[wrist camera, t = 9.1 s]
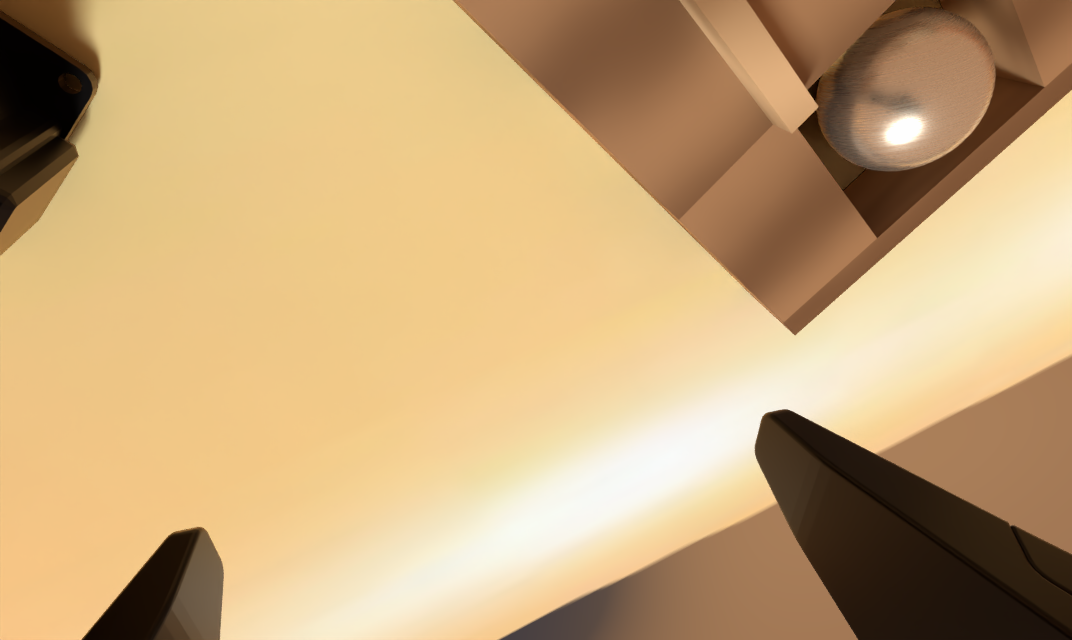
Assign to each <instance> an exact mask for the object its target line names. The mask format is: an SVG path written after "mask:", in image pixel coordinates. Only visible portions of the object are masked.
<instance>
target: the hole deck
mask: <svg viewBox="0 0 1072 640" xmlns="http://www.w3.org/2000/svg"><path fill="white" fill-rule="evenodd" d="M453 1H454V2H455V3H456V4H457V5H458V6H459V7H460V8H461V9H462V10H463V11H464V12H465V13H466V14H467V15H468V16H469V17H470V18H471V19H472V20H473V21H474V22H475V23H476V24H477V25H478V26H479V27H480V28H482V29H483V30H484V31H485V32H486V33H487V34H488V35H489V36H490V37H491V38H492V39H493V40H494V41H495V42H496V43H497V44H498V45H499V46H500V47H501V48H502V49H503V50H504V51H505V52H506V53H507V54H508V55H509V56H510V57H511V58H512V59H513V60H514V61H515V62H516V63H517V64H518V65H519V66H520V67H521V68H522V69H523V70H524V71H525V72H526V73H527V74H528V75H529V76H530V77H531V78H532V79H533V80H534V81H535V82H536V83H537V84H538V85H539V86H540V87H541V88H542V89H543V90H544V91H545V92H546V93H547V94H548V95H549V96H550V97H551V98H552V99H553V100H554V101H555V102H556V103H557V104H558V105H560V106H561V107H562V108H563V109H564V110H565V111H566V112H567V113H568V114H569V115H570V116H571V117H572V118H573V119H574V120H575V121H576V122H577V123H578V124H579V125H580V126H581V127H582V128H583V129H584V130H585V131H586V132H587V133H588V134H589V135H590V136H591V137H592V138H593V139H594V140H595V141H596V142H597V143H598V144H599V145H600V146H601V147H602V148H603V149H604V150H605V151H606V152H607V153H608V154H609V155H610V156H611V157H612V158H613V159H614V160H615V161H616V162H617V163H618V164H619V165H620V166H621V167H622V168H623V169H624V170H625V171H626V172H627V173H628V174H629V175H630V176H631V177H632V178H633V179H634V180H635V181H636V182H637V183H639V184H640V185H641V186H642V187H643V188H644V189H645V190H646V191H647V192H648V193H649V194H650V195H651V196H652V197H653V198H654V199H655V200H656V201H657V202H658V203H659V204H660V205H661V206H662V207H663V208H664V209H665V210H666V211H667V212H668V213H669V214H670V215H671V216H672V217H673V218H674V219H675V220H676V221H677V222H678V223H679V224H680V225H681V226H682V227H683V228H684V229H685V230H686V231H687V232H688V233H689V234H690V235H691V236H692V237H693V238H694V239H695V240H696V241H697V242H698V243H699V244H700V245H701V246H702V247H703V248H704V249H705V250H706V251H707V252H708V253H709V254H710V255H711V256H712V257H713V258H714V259H715V260H717V261H718V262H719V263H720V264H721V265H722V266H723V267H724V268H725V269H726V270H727V271H728V272H729V273H730V274H731V275H732V276H733V277H734V278H735V279H736V280H737V281H738V282H739V283H740V284H741V285H742V286H743V287H744V288H745V289H746V290H747V291H748V292H749V293H750V294H751V295H752V296H753V297H754V298H755V299H756V300H757V301H758V302H759V303H760V304H762V305H763V306H764V307H765V308H766V309H767V310H768V311H769V312H770V313H771V314H772V315H773V316H775V317H776V318H777V319H778V320H779V321H780V322H781V323H782V324H783V325H784V326H785V327H786V328H788V329H789V330H790V331H791V332H792V333H793V334H794V335H796V334H797V333H798V332H799V331H801V330H802V329H803V328H804V327H805V326H806V325H807V324H808V323H810V322H811V321H812V320H813V319H814V318H815V317H816V316H817V315H819V314H820V313H821V312H822V311H823V310H824V309H825V308H826V307H828V306H829V305H830V304H831V303H832V302H833V301H834V300H835V299H837V298H838V297H839V296H840V295H841V294H842V293H843V292H844V291H846V290H847V289H848V288H849V287H850V286H851V285H852V284H853V283H855V282H856V281H857V280H858V279H859V278H860V277H861V276H862V275H864V274H865V273H866V272H867V271H868V270H869V269H870V268H871V267H873V266H874V265H875V264H876V263H877V262H878V261H879V260H880V259H882V258H883V257H884V256H885V255H886V254H887V253H888V252H889V251H891V250H892V249H893V248H894V247H895V246H896V245H897V244H898V243H900V242H901V241H902V240H903V239H904V238H905V237H906V236H908V235H909V234H910V233H911V232H912V231H913V230H914V229H915V228H917V227H918V226H919V225H920V224H921V223H922V222H923V221H924V220H926V219H927V218H928V217H929V216H930V215H931V214H932V213H933V212H935V211H936V210H937V209H938V208H939V207H940V206H941V205H942V204H944V203H945V202H946V201H947V200H948V199H949V198H950V197H951V196H953V195H954V194H955V193H956V192H957V191H958V190H959V189H960V188H962V187H963V186H964V185H965V184H966V183H967V182H968V181H969V180H971V179H972V178H973V177H974V176H975V175H976V174H977V173H978V172H980V171H981V170H982V169H983V168H984V167H985V166H986V165H987V164H989V163H990V162H991V161H992V160H993V159H994V158H995V157H996V156H998V155H999V154H1000V153H1001V152H1002V151H1003V150H1004V149H1005V148H1007V147H1008V146H1009V145H1010V144H1011V143H1012V142H1013V141H1015V140H1016V139H1017V138H1018V137H1019V136H1020V135H1021V134H1022V133H1024V132H1025V131H1026V130H1027V129H1028V128H1029V127H1030V126H1031V125H1033V124H1034V123H1035V122H1036V121H1037V120H1038V119H1039V118H1040V117H1042V116H1043V115H1044V114H1045V113H1046V112H1047V111H1048V110H1049V109H1051V108H1052V107H1053V106H1054V105H1055V104H1056V103H1057V102H1058V101H1060V100H1061V99H1062V98H1063V97H1064V96H1065V95H1066V94H1067V93H1069V92H1070V91H1071V90H1072V0H939V1H940V3H941V6H942V8H943V10H946V11H949V12H953V13H955V14H957V15H959V16H961V17H963V18H965V19H966V20H968V21H969V22H970V23H972V24H973V25H974V26H975V27H976V28H977V29H978V30H979V31H980V32H981V33H982V34H983V36H984V37H985V39H986V40H987V42H988V44H989V47H990V49H991V51H992V54H993V58H994V62H995V72H996V77H995V87H994V91H993V95H992V98H991V101H990V104H989V106H988V109H987V111H986V113H985V115H984V116H983V118H982V120H981V121H980V123H979V124H978V125H977V127H976V128H975V129H974V131H973V132H972V133H971V134H970V135H969V136H968V137H967V138H966V139H965V140H964V141H963V142H962V143H961V144H960V145H958V146H957V147H956V148H955V149H953V150H952V151H951V152H949V153H948V154H946V155H944V156H943V157H941V158H939V159H937V160H935V161H933V162H930V163H928V164H926V165H923V166H920V167H917V168H913V169H908V170H901V171H878V170H871V169H866V170H865V171H864V172H863V173H862V174H861V175H860V176H859V177H858V178H856V179H855V180H854V181H853V182H852V183H851V184H850V185H849V186H848V187H847V188H846V189H845V190H844V191H843V190H842V189H841V188H840V186H839V185H838V184H837V182H836V181H835V179H834V178H833V177H832V175H831V174H830V173H829V171H828V170H827V168H826V167H825V166H824V164H823V163H822V162H821V160H820V159H819V157H818V156H817V155H816V153H815V152H814V150H813V149H812V148H811V146H810V145H809V144H808V142H807V141H806V139H805V138H804V137H803V135H802V134H801V133H800V131H799V130H798V127H799V126H800V125H801V124H802V123H803V122H804V121H805V120H806V119H807V118H808V117H809V116H810V115H811V114H812V113H813V112H814V111H815V110H816V109H817V108H818V105H817V104H816V102H815V101H814V99H813V98H812V96H811V95H810V93H809V92H808V89H809V88H810V87H811V86H812V85H813V84H814V83H815V82H816V81H817V80H818V79H819V78H820V77H821V76H822V75H823V74H824V73H825V72H826V71H827V69H828V68H829V67H830V66H831V65H832V64H833V63H834V62H835V61H836V60H837V59H838V58H839V57H840V56H841V55H842V54H843V53H844V52H845V51H846V50H847V49H848V48H849V47H850V46H851V45H852V44H853V43H854V42H855V41H856V40H857V39H858V38H859V37H860V36H861V35H862V34H863V33H864V32H865V31H866V30H867V29H868V28H869V27H870V26H871V25H872V24H873V23H874V22H875V21H876V20H877V19H878V18H879V17H880V16H881V15H882V14H883V13H884V12H885V11H886V10H887V9H888V8H889V7H890V6H891V5H892V4H893V3H894V2H895V1H896V0H453Z"/></svg>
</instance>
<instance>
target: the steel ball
mask: <svg viewBox="0 0 1072 640" xmlns="http://www.w3.org/2000/svg"><path fill="white" fill-rule="evenodd" d="M995 77H996V72H995V62H994V58H993V54H992V51H991V49H990V47H989V44H988V42H987V40H986V39H985V37H984V36H983V34H982V33H981V32H980V31H979V30H978V29H977V28H976V27H975V26H974V25H973V24H972V23H970V22H969V21H968V20H966V19H965V18H963V17H961V16H959V15H957V14H955V13H953V12H949V11H946V10H943V9H937V8H931V7H914V8H907V9H901V10H896V11H893V12H890V13H887V14H885V15H882V16H880V17H879V18H878V19H877V20H876V21H875V22H874V23H873V24H872V25H871V26H870V27H869V28H868V29H867V30H866V31H865V32H864V33H863V34H862V35H861V36H860V37H859V38H858V39H857V40H856V41H855V42H854V43H853V44H852V45H851V46H850V47H849V48H848V49H847V50H846V51H845V52H844V53H843V54H842V55H841V56H840V57H839V58H838V59H837V60H836V61H835V62H834V63H833V64H832V65H831V66H830V67H829V68H828V69H827V71H826V72H825V73H824V74H823V75H822V76H821V79H820V81H819V85H818V89H817V97H816V104H817V105H818V108H817V109H816V113H817V118H818V123H819V126H820V129H821V131H822V133H823V135H824V137H825V139H826V140H827V142H828V143H829V144H830V146H831V147H832V148H833V149H834V150H835V151H836V152H837V153H838V154H839V155H840V156H842V157H843V158H845V159H846V160H848V161H849V162H851V163H854V164H856V165H858V166H860V167H864V168H867V169H871V170H878V171H901V170H908V169H913V168H917V167H920V166H923V165H926V164H928V163H930V162H933V161H935V160H937V159H939V158H941V157H943V156H944V155H946V154H948V153H949V152H951V151H952V150H953V149H955V148H956V147H957V146H958V145H960V144H961V143H962V142H963V141H964V140H965V139H966V138H967V137H968V136H969V135H970V134H971V133H972V132H973V131H974V129H975V128H976V127H977V125H978V124H979V123H980V121H981V120H982V118H983V116H984V115H985V113H986V111H987V109H988V106H989V104H990V101H991V98H992V95H993V91H994V87H995Z"/></svg>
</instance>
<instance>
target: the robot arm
mask: <svg viewBox="0 0 1072 640" xmlns="http://www.w3.org/2000/svg"><path fill="white" fill-rule="evenodd" d="M65 73H69V74H72V75H74V76H76V77H77V78H78V79H79V80H80V82H81V85H82V88H81V90H79V91H77V90H74V89H72V88H70V87H69V86H68V85H67V84H66V82H65V79H64V76H65ZM97 89H98V83H97V79H96V77H95V76H94V74H93V72H92V71H91V70H90V69H88V68H87V67H86V66H85V65H83V64H82V63H80V62H79V61H77V60H76V59H74V58H73V57H71V56H70V55H68V54H66V53H65V52H63V51H62V50H60V49H59V48H57V47H56V46H54V45H53V44H51V43H49V42H48V41H46V40H45V39H43V38H42V37H40V36H39V35H37V34H35V33H34V32H32V31H31V30H29V29H28V28H26V27H25V26H23V25H22V24H20V23H18V22H17V21H15V20H14V19H12V18H11V17H9V16H8V15H6V14H5V13H3V12H1V11H0V255H2V254H3V253H4V252H5V251H6V250H7V249H8V248H9V247H10V246H11V245H12V244H13V243H15V242H16V241H17V240H18V239H19V238H20V237H21V236H22V235H23V234H24V233H25V232H26V231H28V230H29V229H30V228H31V227H32V226H33V225H34V224H35V223H36V222H37V221H38V220H39V219H40V217H41V216H42V214H43V213H44V211H45V209H46V208H47V206H48V205H49V203H50V201H51V200H52V198H53V197H54V195H55V193H56V192H57V190H58V189H59V187H60V186H61V184H62V182H63V181H64V179H65V178H66V176H67V174H68V173H69V171H70V170H71V168H72V166H73V165H74V163H75V162H76V160H77V158H78V157H79V156H78V153H77V150H76V147H75V145H73V144H72V143H70V142H68V141H67V140H68V138H69V137H70V135H71V134H72V132H73V130H74V129H75V127H76V125H77V124H78V122H79V121H80V119H81V117H82V116H83V114H84V112H85V111H86V109H87V108H88V106H89V104H90V103H91V101H92V99H93V98H94V96H95V95H96V92H97ZM755 455H756V459H757V461H758V463H759V465H760V468H761V470H762V472H763V474H764V476H765V478H766V480H767V482H768V484H769V486H770V488H771V490H772V492H773V494H774V496H775V498H776V500H777V502H778V504H779V506H780V508H781V510H782V512H783V515H784V516H785V519H786V521H787V523H788V525H789V527H790V529H791V530H792V532H793V534H794V536H795V538H796V540H797V541H798V543H799V545H800V546H801V548H802V550H803V552H804V553H805V555H806V556H807V558H808V560H809V561H810V563H811V564H812V566H813V568H814V569H815V571H816V572H817V574H818V576H819V577H820V579H821V580H822V582H823V584H824V585H825V587H826V589H827V590H828V592H829V593H830V595H831V596H832V598H833V600H834V601H835V603H836V605H837V606H838V608H839V609H840V611H841V613H842V614H843V616H844V617H845V619H846V621H847V622H848V624H849V625H850V627H851V629H852V630H853V632H854V634H855V635H856V637H857V638H858V640H1072V554H1070V553H1068V552H1066V551H1064V550H1062V549H1060V548H1058V547H1056V546H1054V545H1052V544H1050V543H1048V542H1046V541H1044V540H1042V539H1040V538H1038V537H1036V536H1034V535H1032V534H1030V533H1028V532H1026V531H1024V530H1022V529H1020V528H1019V527H1017V526H1015V525H1011V526H1010V525H1009V523H1008V522H1007V521H1005V520H1003V519H1001V518H999V517H997V516H995V515H993V514H991V513H989V512H987V511H985V510H983V509H981V508H979V507H977V506H975V505H973V504H972V503H970V502H968V501H966V500H964V499H962V498H960V497H958V496H956V495H954V494H952V493H950V492H948V491H946V490H944V489H942V488H940V487H939V486H937V485H935V484H933V483H931V482H929V481H927V480H925V479H923V478H921V477H919V476H917V475H915V474H913V473H911V472H909V471H907V470H905V469H904V468H902V467H899V466H897V465H896V464H894V463H892V462H890V461H888V460H886V459H884V458H882V457H880V456H878V455H876V454H874V453H872V452H870V451H868V450H867V449H865V448H863V447H861V446H859V445H857V444H855V443H853V442H851V441H849V440H847V439H845V438H843V437H841V436H839V435H837V434H835V433H833V432H832V431H830V430H828V429H826V428H824V427H822V426H820V425H818V424H816V423H814V422H812V421H810V420H808V419H806V418H804V417H802V416H800V415H798V414H796V413H795V412H793V411H790V410H786V409H783V410H778V411H773V412H768V413H766V414H765V415H764V416H763V417H762V419H761V423H760V427H759V431H758V435H757V439H756V443H755ZM223 579H224V572H223V565H222V561H221V559H220V557H219V555H218V553H217V550H216V548H215V546H214V544H213V542H212V540H211V538H210V536H209V534H208V533H207V531H206V530H205V529H204V528H202V527H196V528H191V529H186V530H181V531H176V532H174V533H172V534H170V535H169V536H168V537H167V538H166V539H165V540H164V542H163V543H162V544H161V545H160V546H159V548H158V549H157V550H156V551H155V552H154V554H153V555H152V556H151V557H150V558H149V559H148V561H147V562H146V563H145V564H144V565H143V567H142V568H141V569H140V570H139V571H138V573H137V574H136V575H135V576H134V577H133V579H132V580H131V581H130V582H129V583H128V585H127V586H126V587H125V588H124V589H123V591H122V592H121V593H120V594H119V595H118V597H117V598H116V599H115V600H114V601H113V603H112V604H111V605H110V606H109V607H108V609H107V610H106V611H105V612H104V613H103V615H102V616H101V617H100V618H99V619H98V621H97V622H96V623H95V624H94V625H93V626H92V628H91V629H90V630H89V631H88V632H87V634H86V635H85V636H84V637H83V638H82V640H220V627H221V611H222V595H223Z"/></svg>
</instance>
